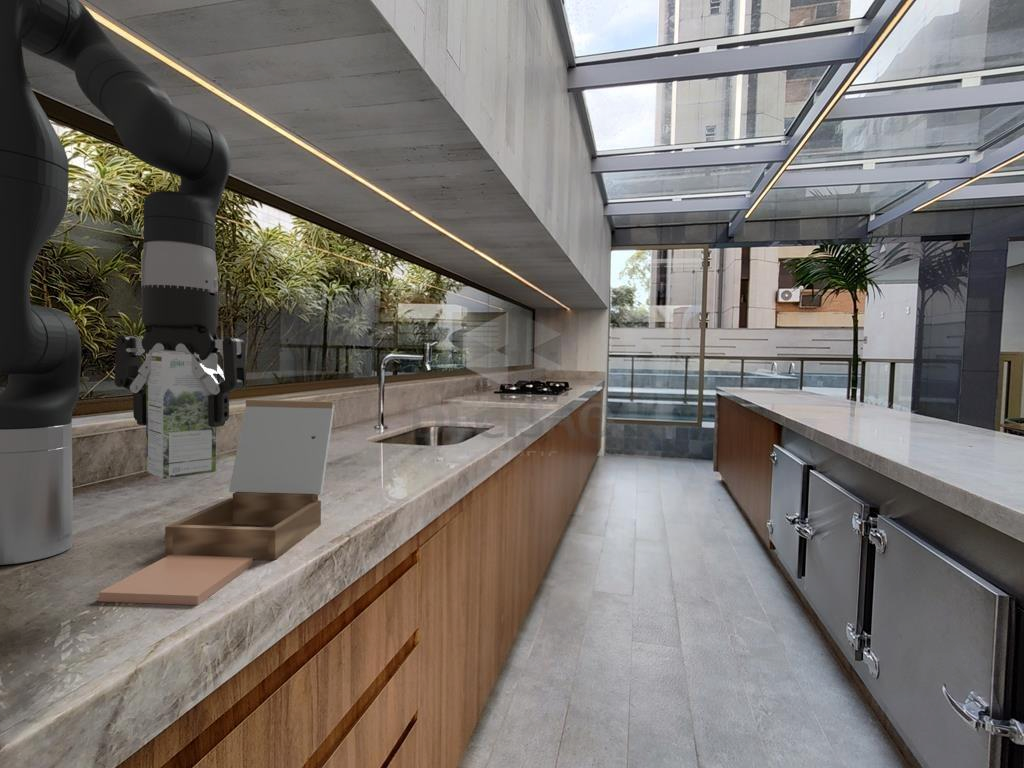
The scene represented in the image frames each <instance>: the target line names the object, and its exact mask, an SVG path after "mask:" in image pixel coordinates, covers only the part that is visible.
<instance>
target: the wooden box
mask: <svg viewBox="0 0 1024 768" xmlns="http://www.w3.org/2000/svg"><path fill="white" fill-rule="evenodd" d="M311 437H312V439H314V438H315V436H311ZM321 519H322V501H321V500H319V495H315V494H288V493H254V492H232V497H229V498H227V499H224V500H222V501H220V502H217V503H215V504H213V505H211V506H209V507H207V508H204V509H202V510H200V511H198V512H195V513H193V514H191V515H189V516H186V517H184V518H182V519H179V520H177V521H175V522H172V523H171V524H168V525H167V526H165V527H164V532H165V533H164V537H165V539H164V543H165V544H164V545H165V546H164V548H165V549H164V555H165V556H164V557H166V556H168V555H187V556H217V557H247V558H253V560H263V561H264V560H267V561H268V560H269V561H270V560H271V561H276V560H277V559H278V558H280V557H281V556H283V555H284V554H285V553H287V551H289V550H290V549H292V548H293V547H295V546H296V545H297V544H298V543H299V542H301V541H302V540H303V539H304V538H306V537H307V536H309V535H310V534H311V533H313V531H315V530H316V529H318V528H319V527H320V526H321V524H322V522H321V521H322V520H321ZM243 524H244V525H245V524H247V525H248V526H234V525H243ZM232 525H233V526H232ZM249 525H250V526H249ZM258 526H260V527H258ZM262 526H272V527H262Z"/></svg>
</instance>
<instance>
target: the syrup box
mask: <svg viewBox="0 0 1024 768" xmlns="http://www.w3.org/2000/svg"><path fill="white" fill-rule="evenodd" d="M149 351H151V350H149ZM153 351H155V352H154V353H153V354H152V355H151V372H150V375H149V378H148V381H147V385H146V425H145V470H146V473H148V474H151V475H153V476H155V477H157V478H161V479H163V480H164V479H165V480H166V479H172V478H174V479H175V478H180V477H182V478H183V477H188V476H195V475H196V476H197V475H203V474H209V473H211V474H212V473H215V472H216V471H217V436H218V435H217V430H218V427H210V426H209V425H208V396H209V395H212V393H211V392H210V391H209V390H208V388H207V387H206V385H205V384H204V383H203V381H201V380H199V379H198V378H197V377H196V376H195V374H194V373H193V372H192V363H193V361H192V355H191V354H186V353H185V352H178V351H176V350H153ZM145 353H146V352H145ZM149 355H150V352H149V354H147V353H146V354H145V360H146V359H147V357H148V356H149ZM194 355H195V356H196V357H198V359H199V360H200V361H201V363H202V364H203V365H204V366H205V367H206V368H208V369H214V370H215V371H217V364H218V354H217V353H210V355H209V356H208V357H207V359H205V360H201V359H200V358H199V354H196V353H195V354H194ZM214 377H215V379H216V380H217V375H214Z"/></svg>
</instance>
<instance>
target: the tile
mask: <svg viewBox="0 0 1024 768" xmlns="http://www.w3.org/2000/svg"><path fill="white" fill-rule="evenodd" d="M253 560H254V559H253V558H247V557H217V556H187V555H168V556H164V557H162V558H161V559H159V560H157V561H155V562H153V563H152V564H151V563H150V564H149V565H147V566H146V567H143V568H142V569H140V570H138V571H136V572H134V573H132V574H130V575H128V576H127V577H125V578H123V579H120V580H119V581H118V582H115V583H113V584H112V585H110V586H108V587H106V588H104V589H102V590H100V591H98V602H105V603H106V602H110V603H131V604H132V603H133V604H135V603H136V604H137V603H139V604H161V605H164V604H165V605H185V606H190V605H191V606H198V605H200V604H201V603H203V602H204V601H206V599H208V598H210V597H211V596H212V595H214V594H215V593H216V592H218V591H220V590H221V589H222V588H224V587H225V586H226V585H227V584H229V583H231V582H232V581H233V580H235V579H236V578H238V576H240V575H241V574H243V573H244V572H245V571H247V570H248V569H249V568H251V567H253Z"/></svg>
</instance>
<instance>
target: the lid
mask: <svg viewBox="0 0 1024 768" xmlns="http://www.w3.org/2000/svg"><path fill="white" fill-rule="evenodd" d="M244 408H245V409H244V412H243V413H244V414H243V418H242V423H241V429H240V432H239V437H238V443H237V448H236V454H235V459H234V464H233V469H232V474H231V479H230V484H229V490H228V492H230V493H235V492H254V493H288V494H315V495H318V496H320V495H323V491H324V489H323V488H324V481H325V476H326V475H325V474H326V470H327V464H328V457H329V456H328V455H329V454H328V453H329V448H330V441H331V434H332V433H331V432H332V426H333V420H334V412H335V409H336V401H331V400H330V401H326V400H325V401H321V400H320V401H319V400H280V399H279V400H277V399H245V407H244ZM311 436H315V438H314V439H312V437H311Z"/></svg>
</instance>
